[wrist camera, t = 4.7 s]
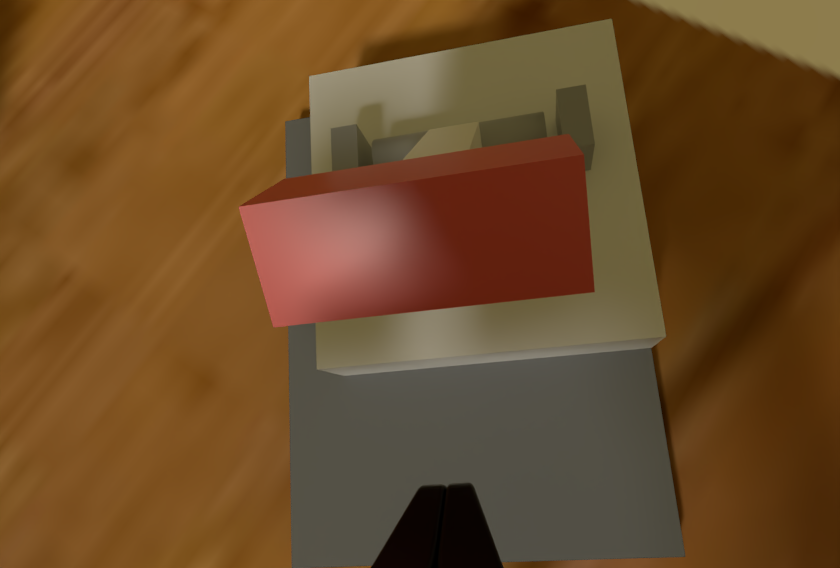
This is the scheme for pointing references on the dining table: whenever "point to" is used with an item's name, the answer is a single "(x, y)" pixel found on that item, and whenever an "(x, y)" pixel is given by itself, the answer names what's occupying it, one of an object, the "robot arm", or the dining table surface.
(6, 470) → the dining table surface
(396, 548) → the robot arm
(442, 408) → the switch panel
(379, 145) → the switch lever
